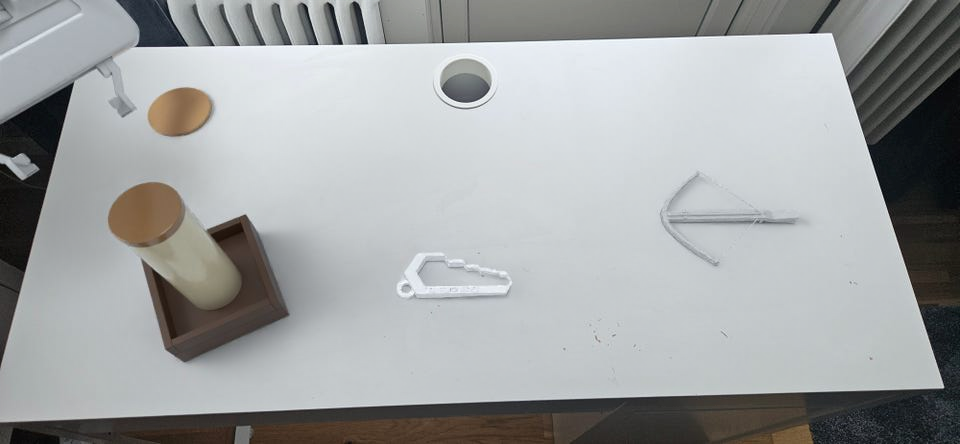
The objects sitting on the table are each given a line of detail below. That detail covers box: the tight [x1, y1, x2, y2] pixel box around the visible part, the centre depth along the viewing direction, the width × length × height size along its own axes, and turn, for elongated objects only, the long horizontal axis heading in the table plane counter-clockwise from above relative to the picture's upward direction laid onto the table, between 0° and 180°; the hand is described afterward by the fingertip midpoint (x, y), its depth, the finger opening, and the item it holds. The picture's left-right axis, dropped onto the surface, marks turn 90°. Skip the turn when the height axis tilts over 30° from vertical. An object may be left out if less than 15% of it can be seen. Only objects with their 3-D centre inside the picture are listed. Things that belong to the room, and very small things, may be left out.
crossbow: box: [660, 170, 799, 266], centre depth 72 cm, size 16×13×2 cm
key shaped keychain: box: [396, 252, 513, 300], centre depth 67 cm, size 13×5×2 cm, turn 91°
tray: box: [140, 213, 290, 363], centre depth 64 cm, size 12×12×4 cm
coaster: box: [147, 87, 212, 137], centre depth 79 cm, size 8×8×1 cm
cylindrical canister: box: [107, 181, 242, 310], centre depth 57 cm, size 6×6×16 cm
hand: (82, 143), depth 53 cm, fingers open, 8 cm apart
